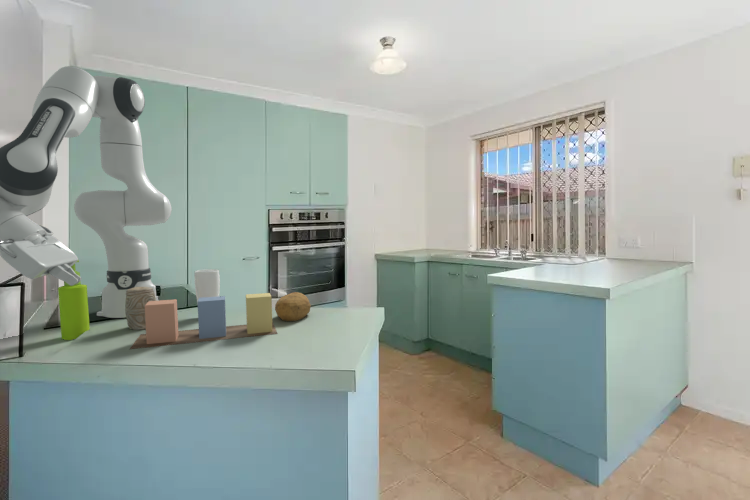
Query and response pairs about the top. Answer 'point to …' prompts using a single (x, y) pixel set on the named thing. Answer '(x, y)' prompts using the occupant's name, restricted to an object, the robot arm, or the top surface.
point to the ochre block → (259, 313)
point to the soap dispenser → (73, 309)
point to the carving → (137, 306)
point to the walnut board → (193, 337)
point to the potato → (292, 307)
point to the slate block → (211, 317)
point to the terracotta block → (161, 321)
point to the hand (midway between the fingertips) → (77, 282)
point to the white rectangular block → (207, 283)
